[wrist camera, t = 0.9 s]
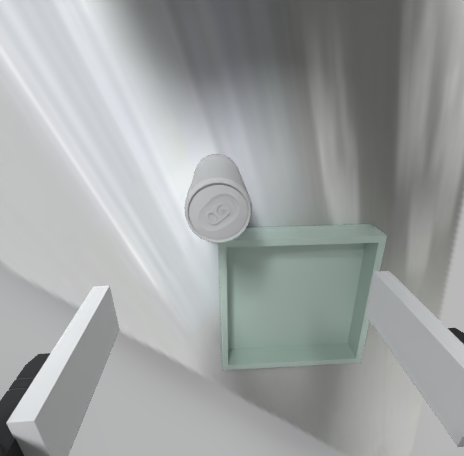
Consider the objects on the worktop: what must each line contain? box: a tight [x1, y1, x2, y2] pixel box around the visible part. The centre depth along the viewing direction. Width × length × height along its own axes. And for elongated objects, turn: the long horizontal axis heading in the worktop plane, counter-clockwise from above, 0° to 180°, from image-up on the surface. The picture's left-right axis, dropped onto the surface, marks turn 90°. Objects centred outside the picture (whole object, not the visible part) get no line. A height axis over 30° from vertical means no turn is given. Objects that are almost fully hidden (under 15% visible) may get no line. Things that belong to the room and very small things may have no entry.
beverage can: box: [185, 154, 251, 243], centre depth 26 cm, size 5×5×12 cm
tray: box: [218, 224, 387, 370], centre depth 36 cm, size 18×18×3 cm
